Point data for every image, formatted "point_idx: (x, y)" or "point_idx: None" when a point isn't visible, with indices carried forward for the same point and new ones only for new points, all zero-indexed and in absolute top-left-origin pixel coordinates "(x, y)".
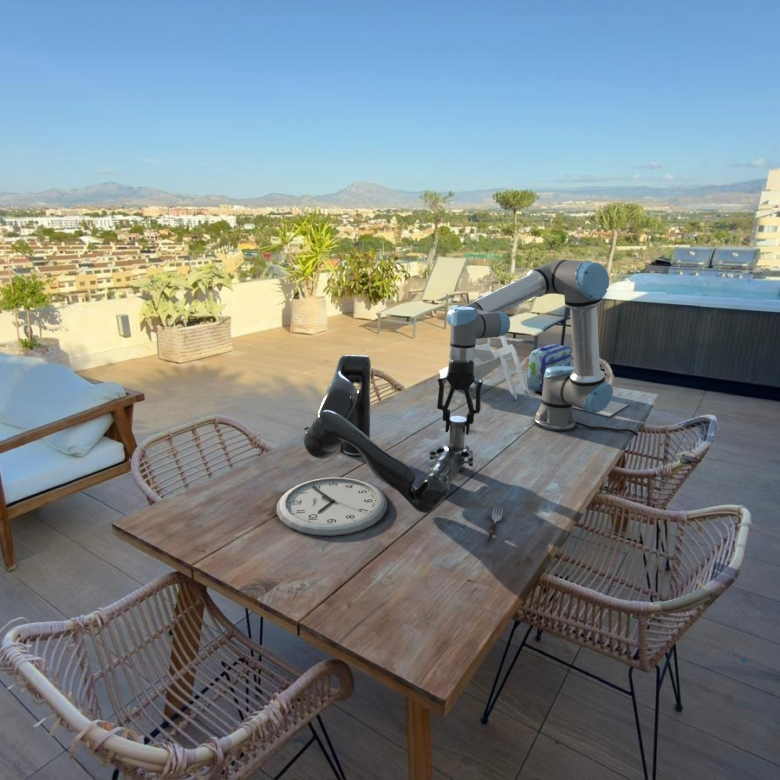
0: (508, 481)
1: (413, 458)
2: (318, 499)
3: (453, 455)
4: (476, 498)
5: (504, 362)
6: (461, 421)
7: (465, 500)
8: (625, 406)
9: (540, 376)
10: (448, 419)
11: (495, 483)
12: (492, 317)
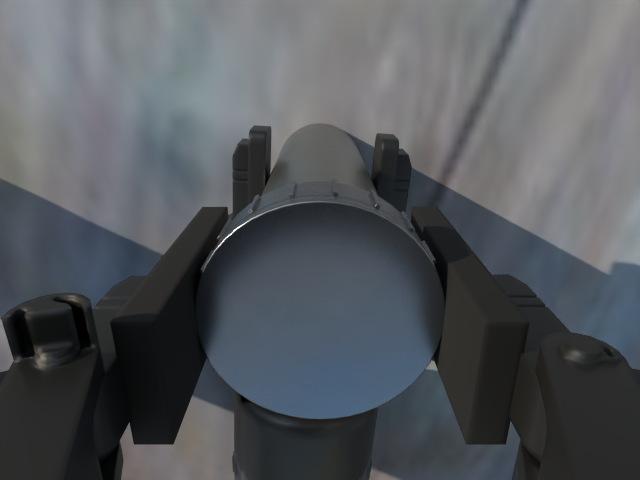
0: (601, 236)
1: (57, 118)
2: None
3: (340, 463)
4: (446, 413)
5: None
6: (375, 388)
7: (405, 435)
8: None
9: None
10: (201, 364)
11: (533, 274)
12: None
